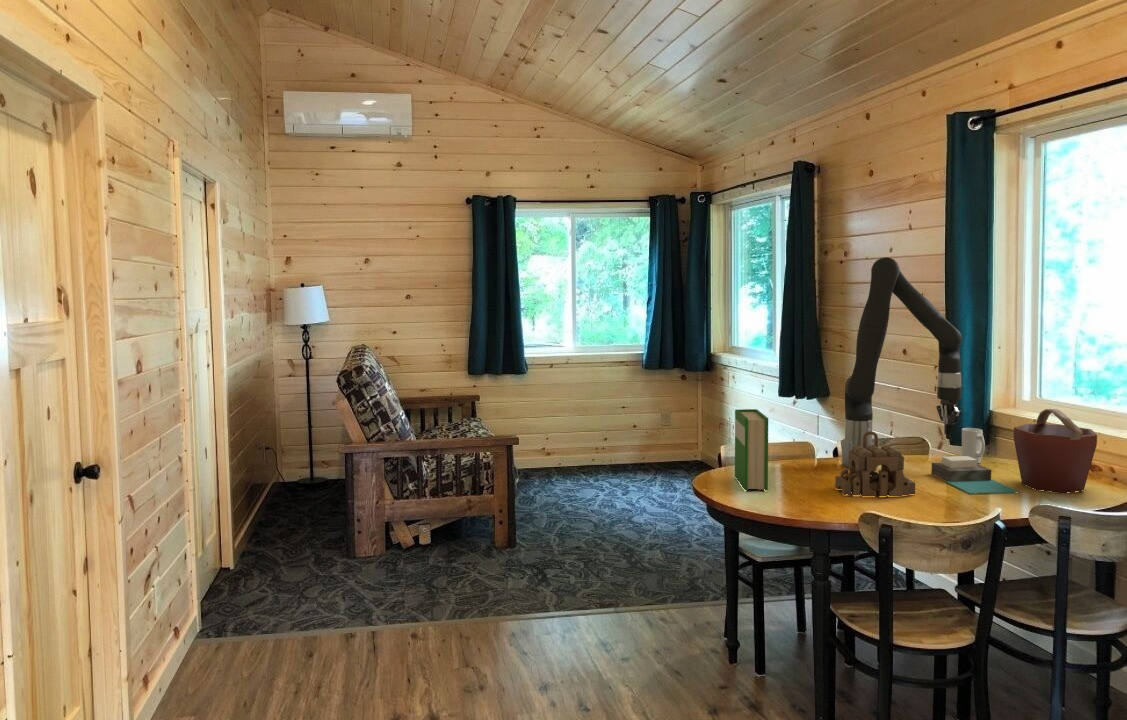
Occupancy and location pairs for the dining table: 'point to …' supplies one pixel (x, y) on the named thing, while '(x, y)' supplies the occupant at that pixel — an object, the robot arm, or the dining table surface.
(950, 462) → the tile
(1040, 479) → the bucket
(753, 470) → the hardback book
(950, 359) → the robot arm
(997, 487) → the mat
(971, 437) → the mug
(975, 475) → the block
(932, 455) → the dining table surface
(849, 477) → the wooden puzzle
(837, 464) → the dining table surface
